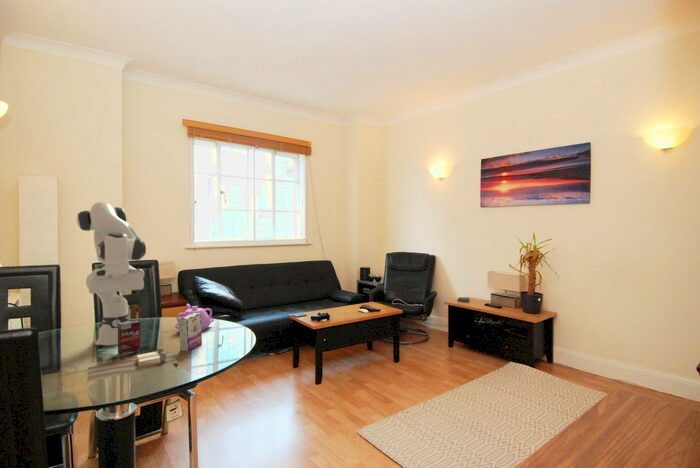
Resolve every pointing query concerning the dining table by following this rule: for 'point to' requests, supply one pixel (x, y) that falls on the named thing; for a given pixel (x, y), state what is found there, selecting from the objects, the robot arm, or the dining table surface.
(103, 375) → the board
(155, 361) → the birch plate
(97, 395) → the dining table surface
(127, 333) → the supplement box
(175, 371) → the dining table surface
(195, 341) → the candy bar box
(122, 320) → the robot arm
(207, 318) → the teapot
